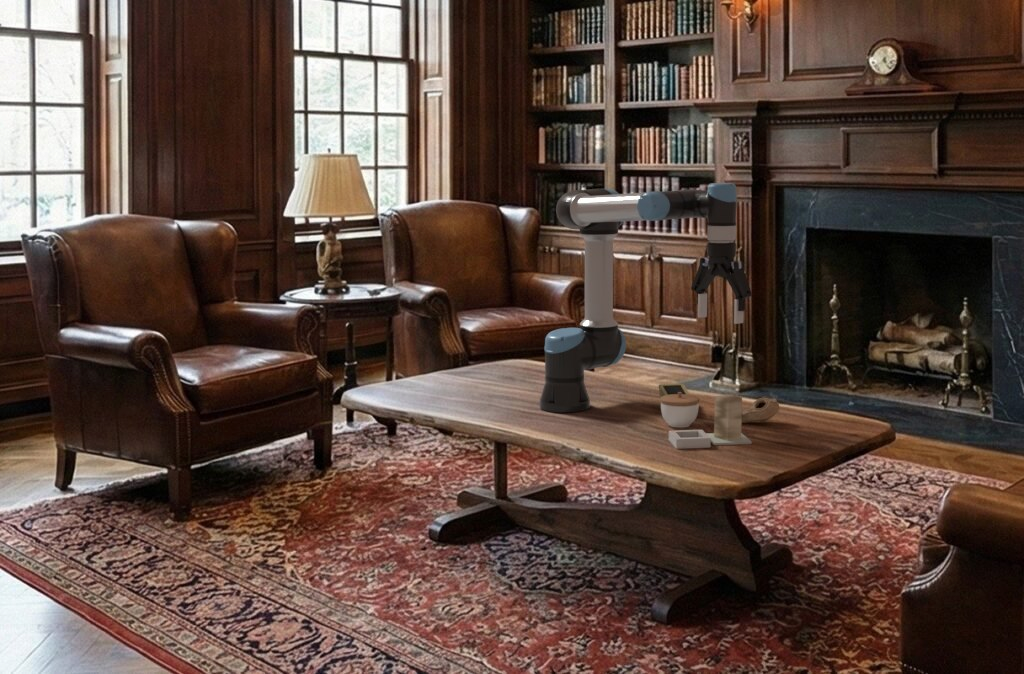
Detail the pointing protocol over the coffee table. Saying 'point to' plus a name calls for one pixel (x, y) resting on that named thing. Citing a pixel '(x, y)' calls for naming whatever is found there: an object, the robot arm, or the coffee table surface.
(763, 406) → the pottery oil lamp
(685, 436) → the stone well
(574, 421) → the coffee table surface
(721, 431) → the maple block
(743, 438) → the felt pad
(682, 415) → the lidded jar
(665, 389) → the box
